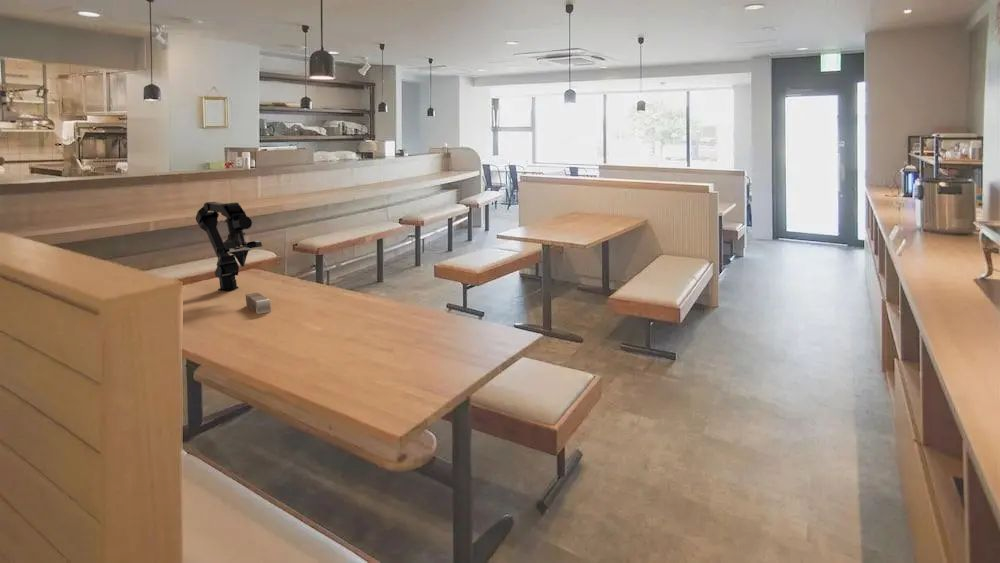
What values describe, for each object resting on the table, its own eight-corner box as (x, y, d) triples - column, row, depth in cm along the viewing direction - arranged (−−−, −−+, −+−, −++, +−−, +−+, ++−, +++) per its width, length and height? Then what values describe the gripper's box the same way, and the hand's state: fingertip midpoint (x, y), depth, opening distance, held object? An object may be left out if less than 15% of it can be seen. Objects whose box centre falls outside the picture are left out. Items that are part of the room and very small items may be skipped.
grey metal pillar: (245, 294, 259) (256, 301, 248) (257, 292, 262) (269, 299, 251) (246, 306, 260) (258, 313, 249) (258, 303, 263) (270, 311, 252)
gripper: (205, 235, 267) (213, 271, 269) (246, 228, 266) (254, 265, 267) (219, 234, 278) (226, 268, 280) (259, 227, 277) (265, 262, 278)
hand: (242, 266), depth 276 cm, fingers closed
